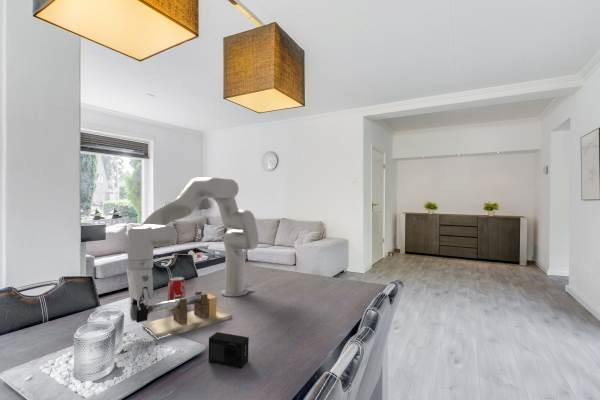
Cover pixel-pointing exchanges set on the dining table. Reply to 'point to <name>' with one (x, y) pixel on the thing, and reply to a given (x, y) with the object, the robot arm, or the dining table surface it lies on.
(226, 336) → the digital camera
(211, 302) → the block
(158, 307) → the shaft
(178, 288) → the soda can
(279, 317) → the dining table surface
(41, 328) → the dining table surface
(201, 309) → the rig
